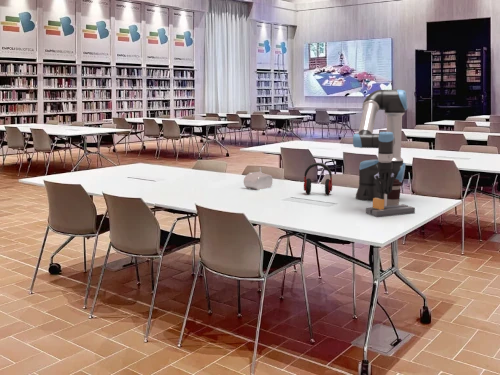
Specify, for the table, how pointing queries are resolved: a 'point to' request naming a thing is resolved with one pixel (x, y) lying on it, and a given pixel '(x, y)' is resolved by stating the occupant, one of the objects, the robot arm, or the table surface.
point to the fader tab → (378, 203)
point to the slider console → (390, 210)
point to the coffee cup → (394, 193)
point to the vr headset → (258, 180)
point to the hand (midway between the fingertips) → (383, 205)
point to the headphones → (327, 183)
